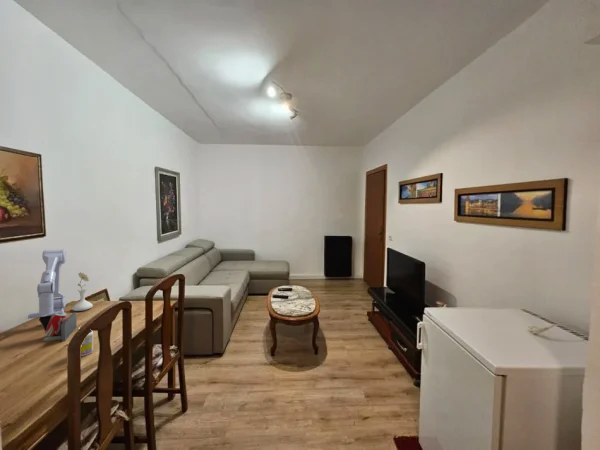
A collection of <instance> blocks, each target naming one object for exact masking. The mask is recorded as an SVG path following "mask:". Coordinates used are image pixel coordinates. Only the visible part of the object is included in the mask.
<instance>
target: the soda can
mask: <svg viewBox="0 0 600 450" xmlns="http://www.w3.org/2000/svg"><path fill="white" fill-rule="evenodd" d="M56 312H58V311H56ZM67 318H68V312H66V311H64V314H63V315H62V314H55V312H54V315H52V316H51V318H50V320H49V323H48V325H47V328H46V331H45V332H44V335H45V336H46V337H50V336H59V335H61V324H62V323H63V322H64V321H65V320H66V319H67Z"/></svg>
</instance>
